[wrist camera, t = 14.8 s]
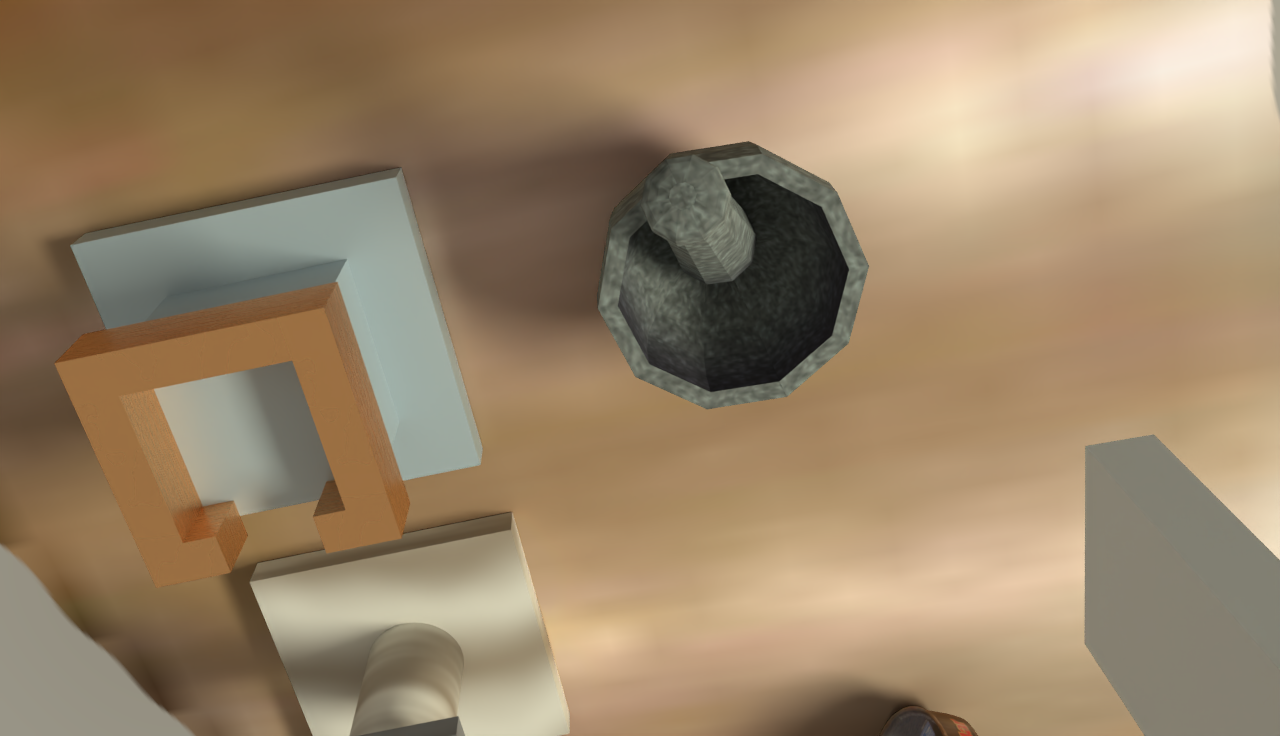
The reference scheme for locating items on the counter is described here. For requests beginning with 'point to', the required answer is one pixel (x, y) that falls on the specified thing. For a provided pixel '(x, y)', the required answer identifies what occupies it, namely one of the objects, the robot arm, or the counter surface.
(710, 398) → the mortar and pestle
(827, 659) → the counter surface
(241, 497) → the block
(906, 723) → the tin
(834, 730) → the counter surface
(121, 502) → the link
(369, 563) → the post stand
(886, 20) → the counter surface
